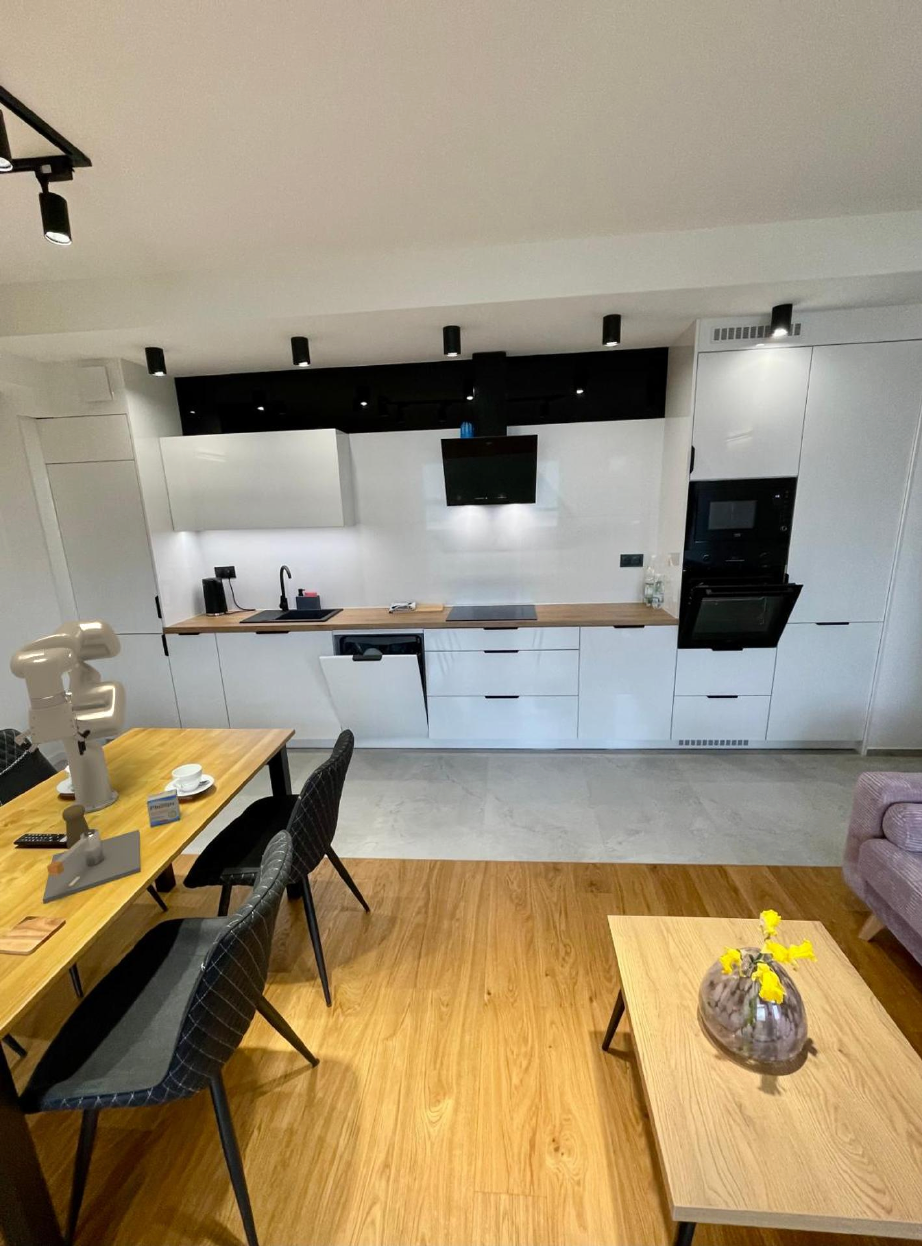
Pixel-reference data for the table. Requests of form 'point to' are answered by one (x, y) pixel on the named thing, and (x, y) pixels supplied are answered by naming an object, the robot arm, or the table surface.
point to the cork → (74, 823)
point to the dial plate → (96, 867)
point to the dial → (88, 844)
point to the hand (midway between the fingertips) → (60, 758)
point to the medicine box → (163, 808)
